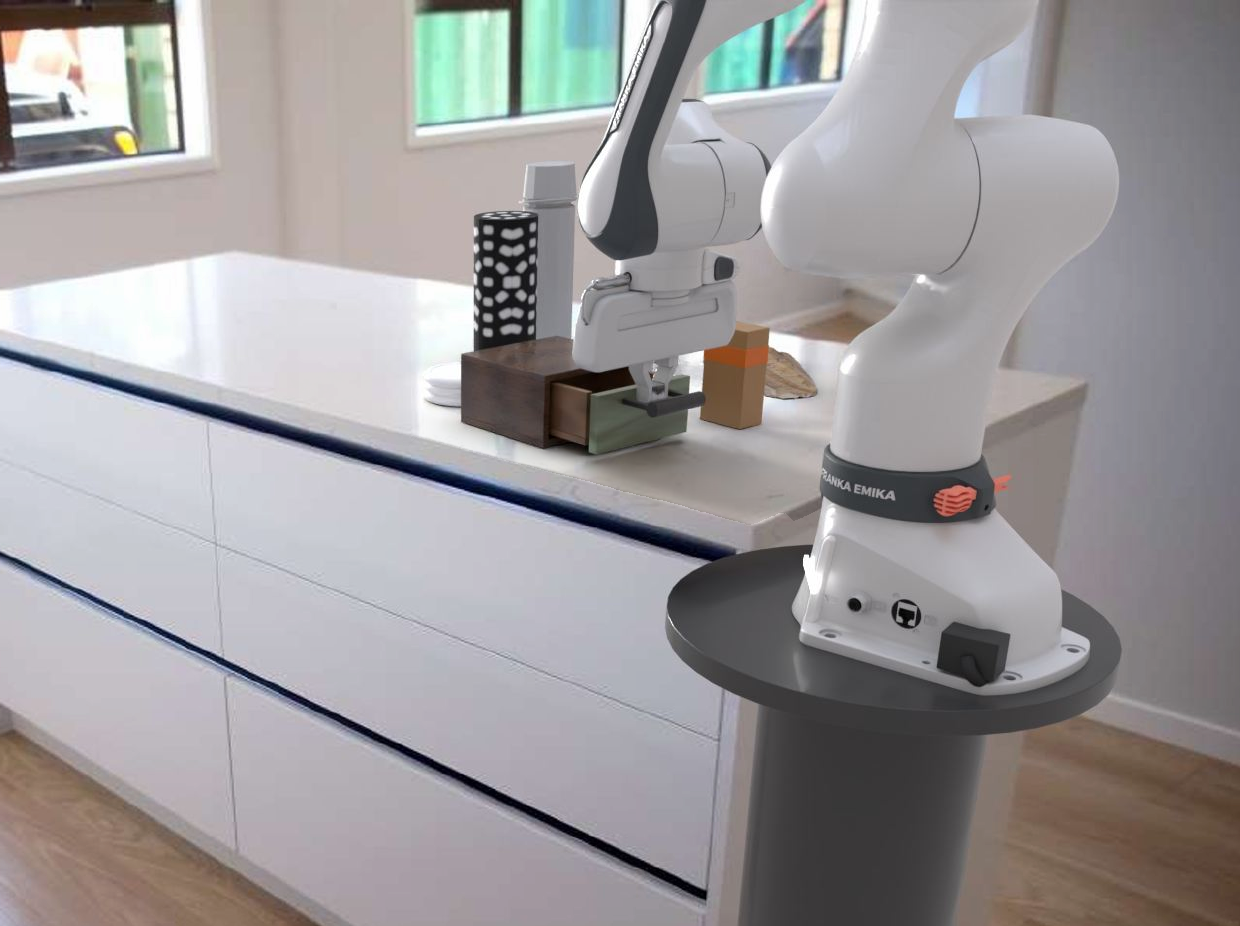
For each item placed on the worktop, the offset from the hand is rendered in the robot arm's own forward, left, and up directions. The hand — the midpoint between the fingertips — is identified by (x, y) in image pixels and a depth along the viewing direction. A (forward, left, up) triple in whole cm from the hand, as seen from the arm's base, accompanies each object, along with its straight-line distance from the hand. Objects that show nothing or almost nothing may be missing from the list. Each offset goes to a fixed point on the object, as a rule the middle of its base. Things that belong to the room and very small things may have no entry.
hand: (651, 400), depth 150 cm
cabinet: (+16, 0, -6) cm, 17 cm away
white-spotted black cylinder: (+41, -14, -6) cm, 44 cm away
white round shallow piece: (+32, 0, -6) cm, 32 cm away
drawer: (+5, 0, -5) cm, 7 cm away
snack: (+3, -16, -6) cm, 17 cm away
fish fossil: (+16, -36, -6) cm, 40 cm away
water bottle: (+48, -27, -6) cm, 55 cm away
